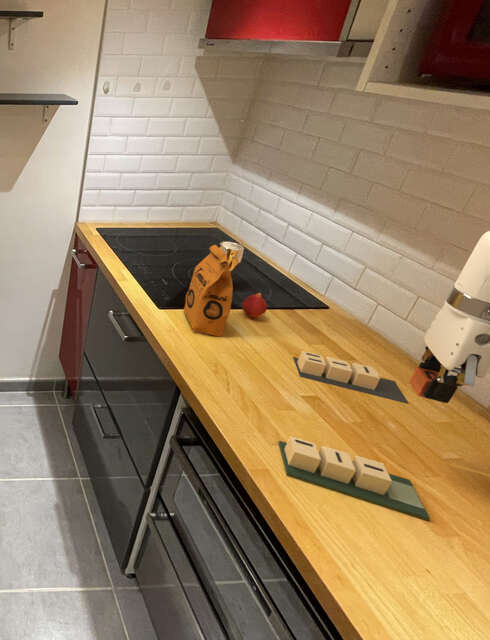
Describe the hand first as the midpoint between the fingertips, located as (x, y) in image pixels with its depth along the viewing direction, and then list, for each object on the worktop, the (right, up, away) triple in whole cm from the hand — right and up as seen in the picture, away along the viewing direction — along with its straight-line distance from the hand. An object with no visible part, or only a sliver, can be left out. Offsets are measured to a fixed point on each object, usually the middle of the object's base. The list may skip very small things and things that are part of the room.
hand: (429, 389), depth 80 cm
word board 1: (+6, -6, +24) cm, 26 cm away
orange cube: (0, -1, 0) cm, 1 cm away
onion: (0, +5, +48) cm, 48 cm away
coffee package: (-16, +3, +45) cm, 48 cm away
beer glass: (-1, +11, +63) cm, 64 cm away
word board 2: (-14, -16, +1) cm, 22 cm away
